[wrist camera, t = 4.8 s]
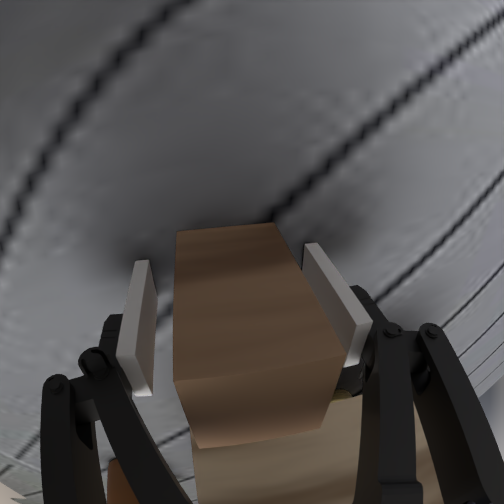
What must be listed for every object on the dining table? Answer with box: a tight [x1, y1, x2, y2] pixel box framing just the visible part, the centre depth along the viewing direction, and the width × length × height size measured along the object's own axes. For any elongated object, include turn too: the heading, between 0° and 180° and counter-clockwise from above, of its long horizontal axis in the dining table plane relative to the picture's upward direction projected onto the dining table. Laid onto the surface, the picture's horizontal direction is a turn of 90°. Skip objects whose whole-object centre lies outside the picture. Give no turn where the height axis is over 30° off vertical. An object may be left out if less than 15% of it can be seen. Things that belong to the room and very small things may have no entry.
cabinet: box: [190, 395, 444, 504], centre depth 21 cm, size 25×20×16 cm
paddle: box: [173, 222, 347, 449], centre depth 19 cm, size 27×5×9 cm, turn 0°
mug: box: [107, 459, 140, 504], centre depth 27 cm, size 12×8×9 cm, turn 38°
